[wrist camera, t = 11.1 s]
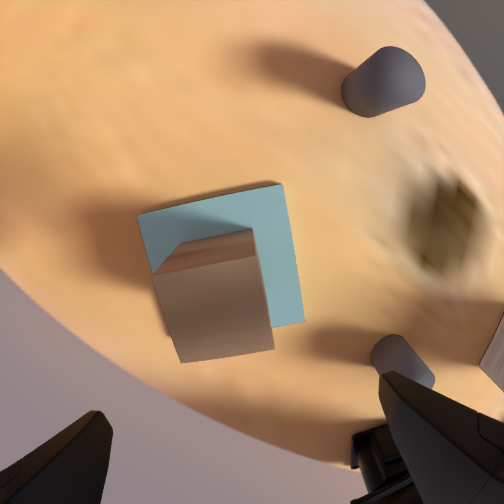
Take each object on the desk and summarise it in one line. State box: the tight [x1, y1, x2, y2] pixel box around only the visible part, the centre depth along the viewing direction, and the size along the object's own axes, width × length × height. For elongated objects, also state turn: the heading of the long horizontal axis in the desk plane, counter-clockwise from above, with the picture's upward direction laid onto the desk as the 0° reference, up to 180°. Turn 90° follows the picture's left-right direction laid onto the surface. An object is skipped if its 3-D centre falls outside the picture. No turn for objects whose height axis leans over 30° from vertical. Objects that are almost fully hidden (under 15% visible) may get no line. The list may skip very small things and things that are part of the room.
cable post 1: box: [341, 46, 426, 118], centre depth 14 cm, size 3×3×5 cm
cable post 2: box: [371, 335, 435, 389], centre depth 19 cm, size 3×3×5 cm
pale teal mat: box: [137, 184, 305, 328], centre depth 19 cm, size 9×9×1 cm
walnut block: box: [151, 228, 275, 363], centre depth 16 cm, size 4×4×6 cm
